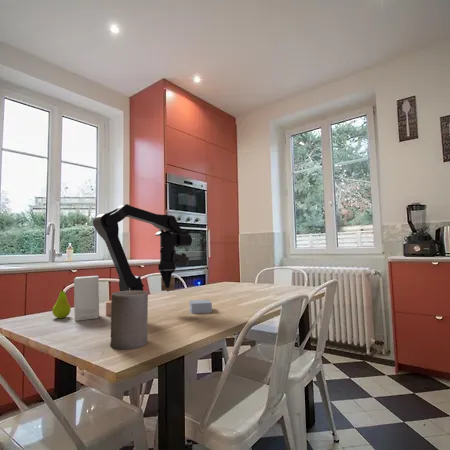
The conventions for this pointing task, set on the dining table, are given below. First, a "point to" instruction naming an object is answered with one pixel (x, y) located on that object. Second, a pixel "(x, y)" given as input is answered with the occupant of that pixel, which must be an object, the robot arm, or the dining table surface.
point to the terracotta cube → (108, 308)
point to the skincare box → (86, 297)
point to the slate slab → (200, 306)
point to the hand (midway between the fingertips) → (167, 286)
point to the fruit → (61, 306)
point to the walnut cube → (171, 287)
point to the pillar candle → (129, 319)
